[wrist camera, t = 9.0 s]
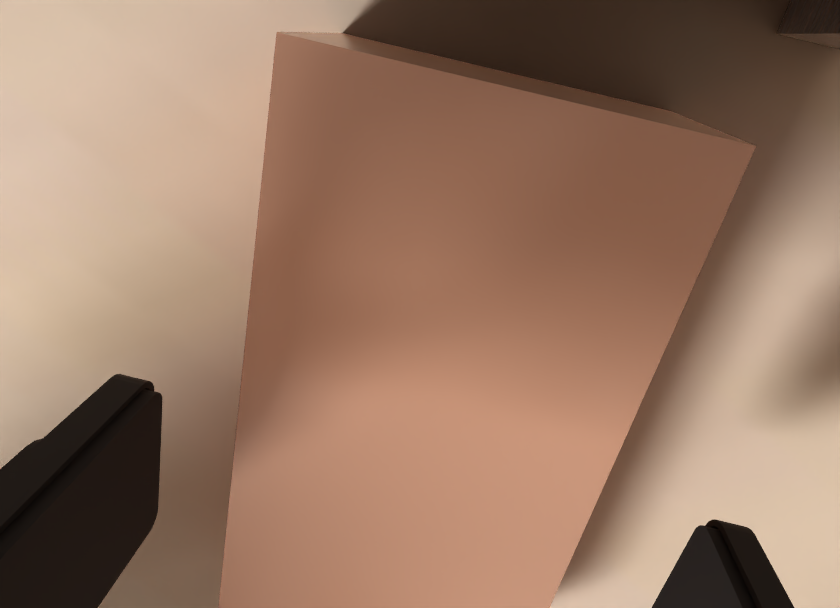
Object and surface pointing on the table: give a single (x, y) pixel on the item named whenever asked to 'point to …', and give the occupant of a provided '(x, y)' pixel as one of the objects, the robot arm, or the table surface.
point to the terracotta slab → (450, 322)
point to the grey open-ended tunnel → (813, 21)
